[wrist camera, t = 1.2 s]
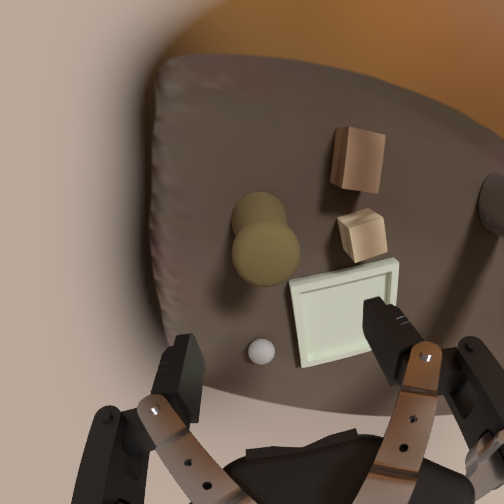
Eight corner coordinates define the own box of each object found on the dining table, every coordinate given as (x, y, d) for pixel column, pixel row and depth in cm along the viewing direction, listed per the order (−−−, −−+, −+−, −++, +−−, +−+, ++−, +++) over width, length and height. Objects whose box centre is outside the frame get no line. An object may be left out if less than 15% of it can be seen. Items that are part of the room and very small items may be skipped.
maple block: (367, 207, 29) (383, 217, 25) (372, 238, 31) (387, 251, 27) (336, 217, 30) (348, 228, 26) (343, 248, 31) (355, 263, 27)
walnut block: (368, 135, 26) (385, 135, 22) (362, 186, 28) (377, 193, 25) (335, 128, 26) (349, 126, 22) (329, 182, 28) (341, 188, 24)
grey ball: (271, 331, 35) (273, 348, 32) (275, 349, 37) (277, 367, 33) (245, 335, 35) (245, 353, 32) (250, 353, 37) (251, 371, 34)
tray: (393, 257, 32) (399, 262, 30) (386, 337, 37) (390, 344, 35) (288, 280, 32) (290, 287, 31) (300, 360, 38) (301, 367, 36)
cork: (292, 237, 30) (316, 287, 20) (240, 251, 31) (238, 307, 21) (279, 185, 28) (300, 211, 18) (224, 200, 28) (212, 235, 18)
